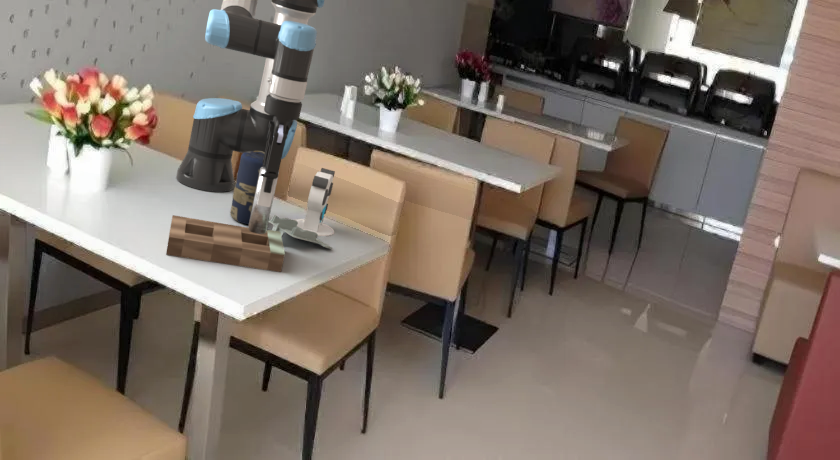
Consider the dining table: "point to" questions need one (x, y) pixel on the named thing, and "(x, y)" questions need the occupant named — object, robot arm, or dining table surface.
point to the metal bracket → (295, 230)
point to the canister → (246, 185)
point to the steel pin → (260, 210)
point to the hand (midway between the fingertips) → (263, 202)
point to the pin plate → (225, 244)
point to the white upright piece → (318, 204)
